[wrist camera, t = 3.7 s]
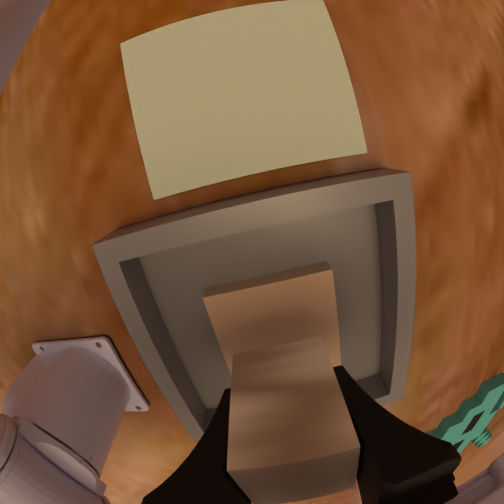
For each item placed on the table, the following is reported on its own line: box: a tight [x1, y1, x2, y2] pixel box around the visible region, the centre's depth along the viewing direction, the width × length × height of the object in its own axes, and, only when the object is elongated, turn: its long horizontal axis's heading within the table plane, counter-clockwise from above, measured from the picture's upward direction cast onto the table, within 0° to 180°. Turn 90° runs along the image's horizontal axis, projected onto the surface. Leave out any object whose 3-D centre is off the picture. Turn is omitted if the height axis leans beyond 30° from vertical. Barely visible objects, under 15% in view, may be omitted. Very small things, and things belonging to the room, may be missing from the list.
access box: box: [92, 168, 416, 441], centre depth 16 cm, size 16×16×3 cm
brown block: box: [227, 336, 360, 504], centre depth 10 cm, size 4×4×6 cm
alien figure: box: [426, 373, 504, 454], centre depth 25 cm, size 20×2×20 cm
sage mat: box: [120, 0, 367, 200], centre depth 13 cm, size 12×10×1 cm
